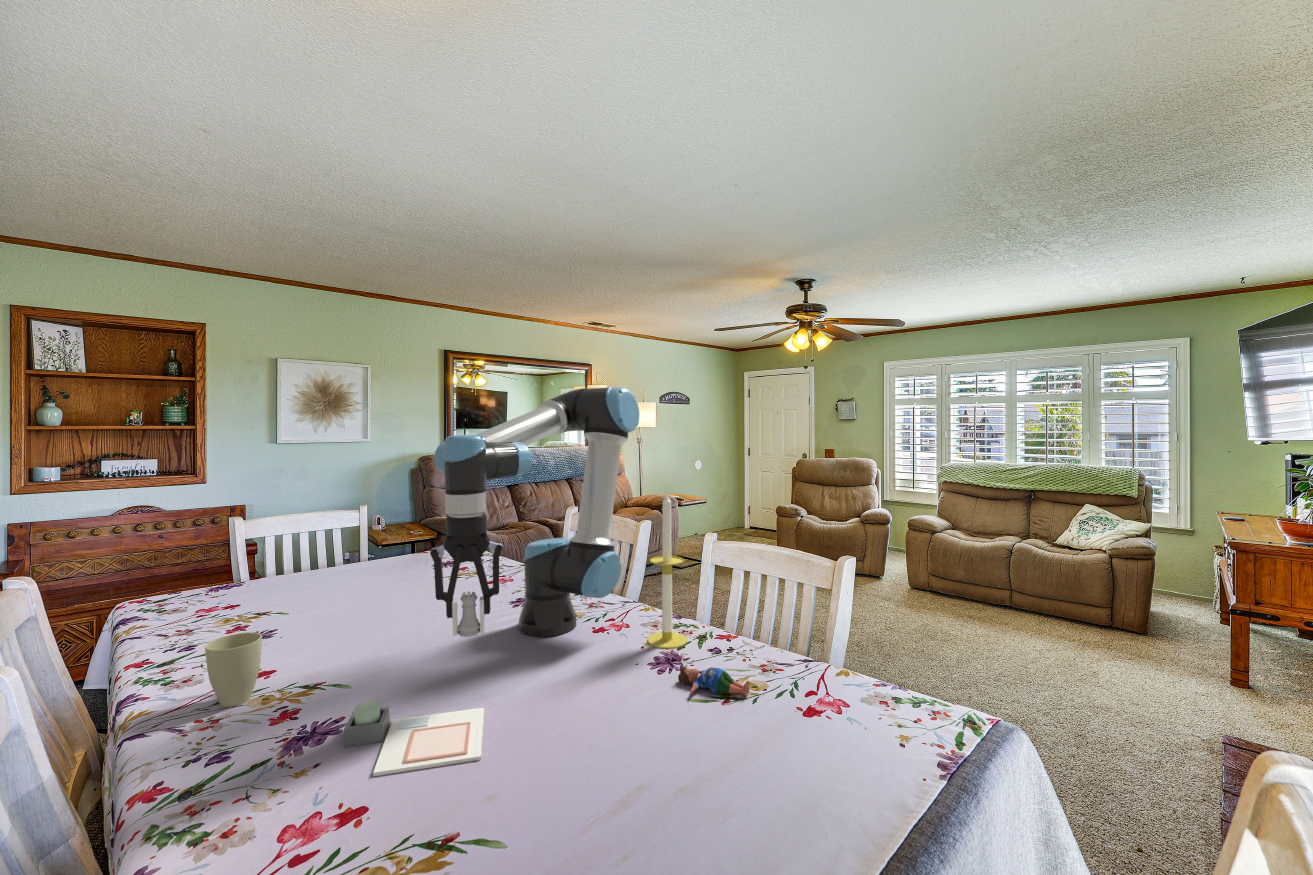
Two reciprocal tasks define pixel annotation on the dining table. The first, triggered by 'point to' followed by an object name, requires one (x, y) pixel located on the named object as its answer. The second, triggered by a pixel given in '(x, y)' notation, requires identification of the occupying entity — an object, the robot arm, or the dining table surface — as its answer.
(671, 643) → the paper towel holder
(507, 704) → the dining table surface
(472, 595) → the rook chess piece
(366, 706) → the button
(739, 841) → the dining table surface
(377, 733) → the button housing
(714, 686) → the toy character
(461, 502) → the robot arm
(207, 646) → the mug
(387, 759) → the cream square board
